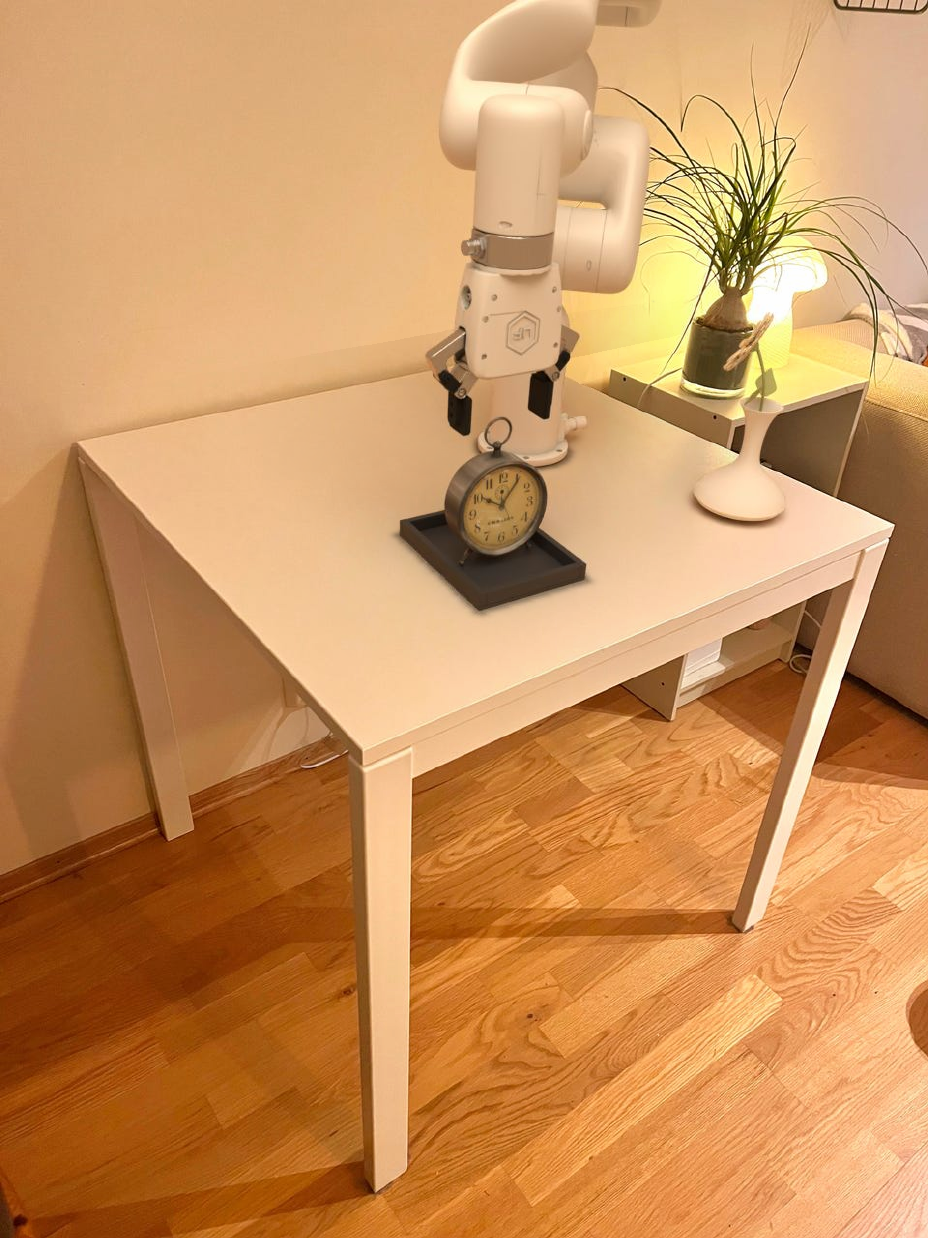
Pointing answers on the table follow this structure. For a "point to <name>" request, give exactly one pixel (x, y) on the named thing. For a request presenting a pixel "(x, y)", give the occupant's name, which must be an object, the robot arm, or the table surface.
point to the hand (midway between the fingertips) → (499, 422)
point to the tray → (492, 563)
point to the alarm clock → (495, 501)
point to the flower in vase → (747, 452)
